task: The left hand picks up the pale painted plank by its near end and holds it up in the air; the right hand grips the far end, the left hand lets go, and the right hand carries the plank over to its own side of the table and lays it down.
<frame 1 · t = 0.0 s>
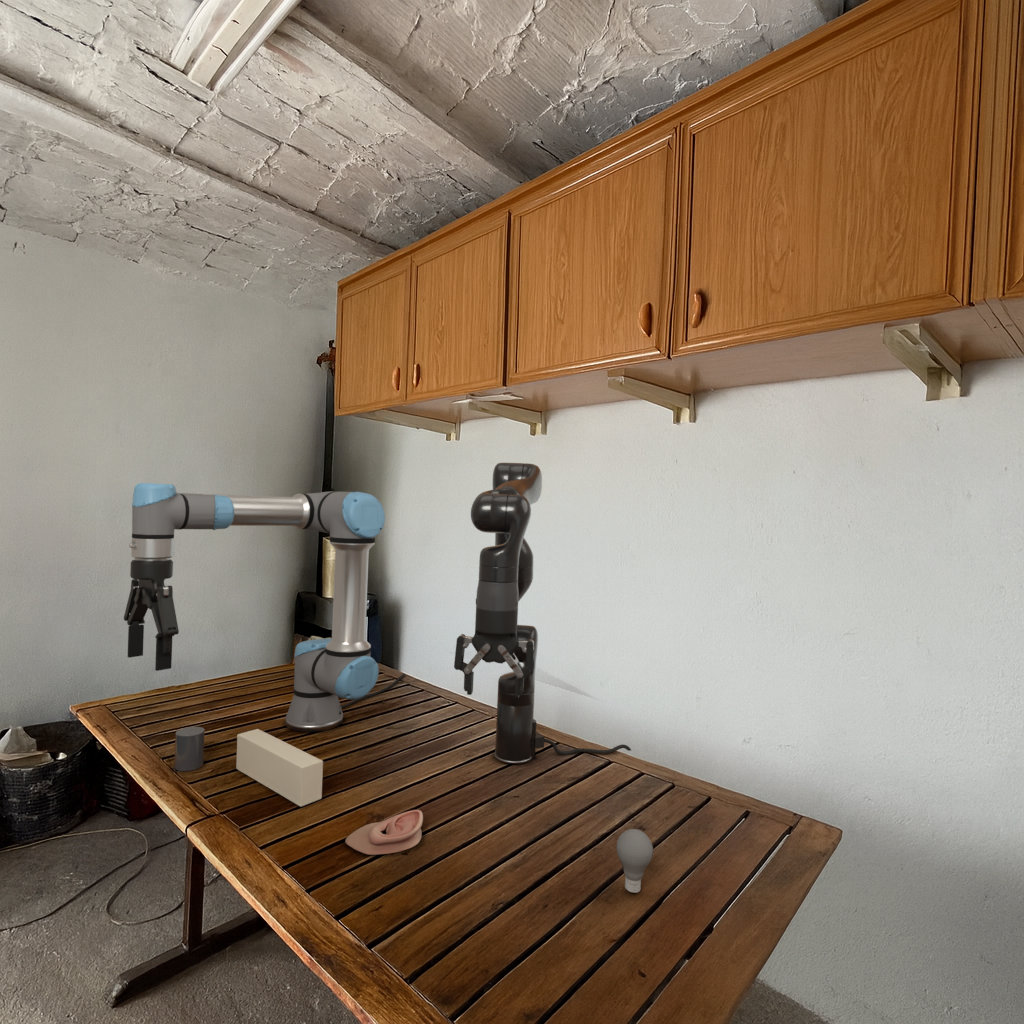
left hand: (148, 662, 129), 28 cm above the table, fingers open, 13 cm apart
right hand: (493, 695, 114), 29 cm above the table, fingers open, 8 cm apart
fossil: (325, 680, 217), on the table
dark grey cylinder: (189, 765, 146), on the table
plank: (277, 783, 139), on the table
light bulb: (632, 891, 106), on the table
anatomical model: (384, 840, 118), on the table
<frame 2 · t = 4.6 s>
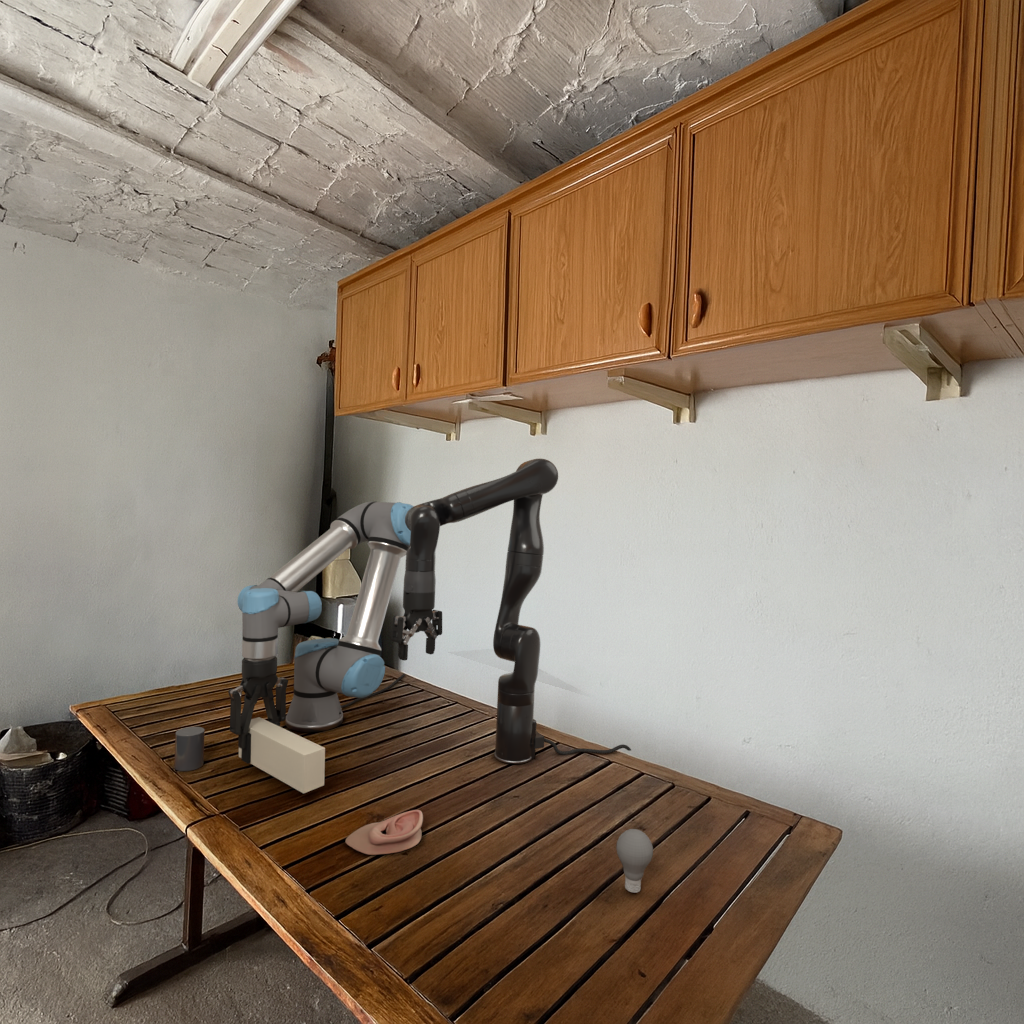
left hand: (257, 757, 145), 3 cm above the table, fingers closed on plank, 5 cm apart
right hand: (416, 656, 151), 26 cm above the table, fingers open, 8 cm apart
plank: (279, 770, 140), point 3 cm above the table, touching left hand
everything else where it was.
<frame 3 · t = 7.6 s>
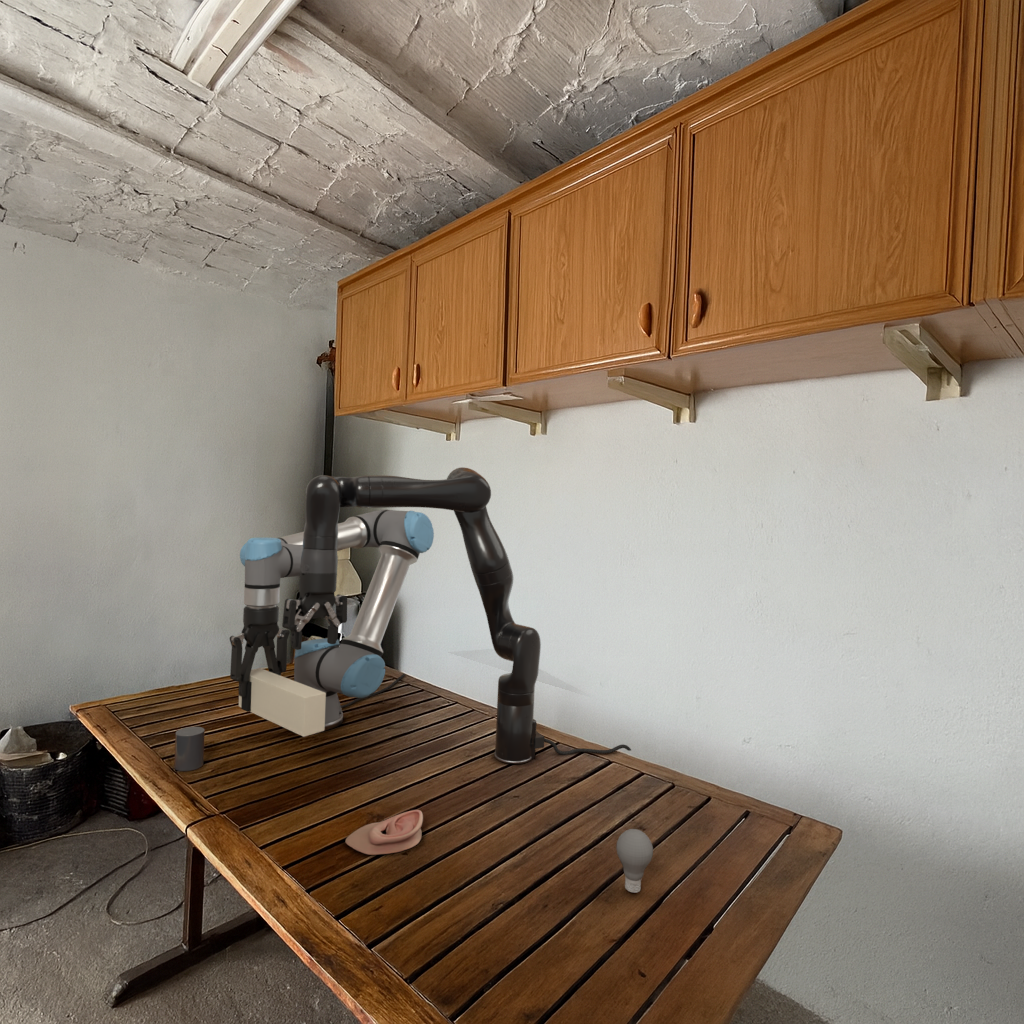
left hand: (257, 706, 145), 15 cm above the table, fingers closed on plank, 5 cm apart
right hand: (314, 646, 134), 32 cm above the table, fingers open, 8 cm apart
plank: (279, 718, 139), point 14 cm above the table, touching left hand
everything else where it was.
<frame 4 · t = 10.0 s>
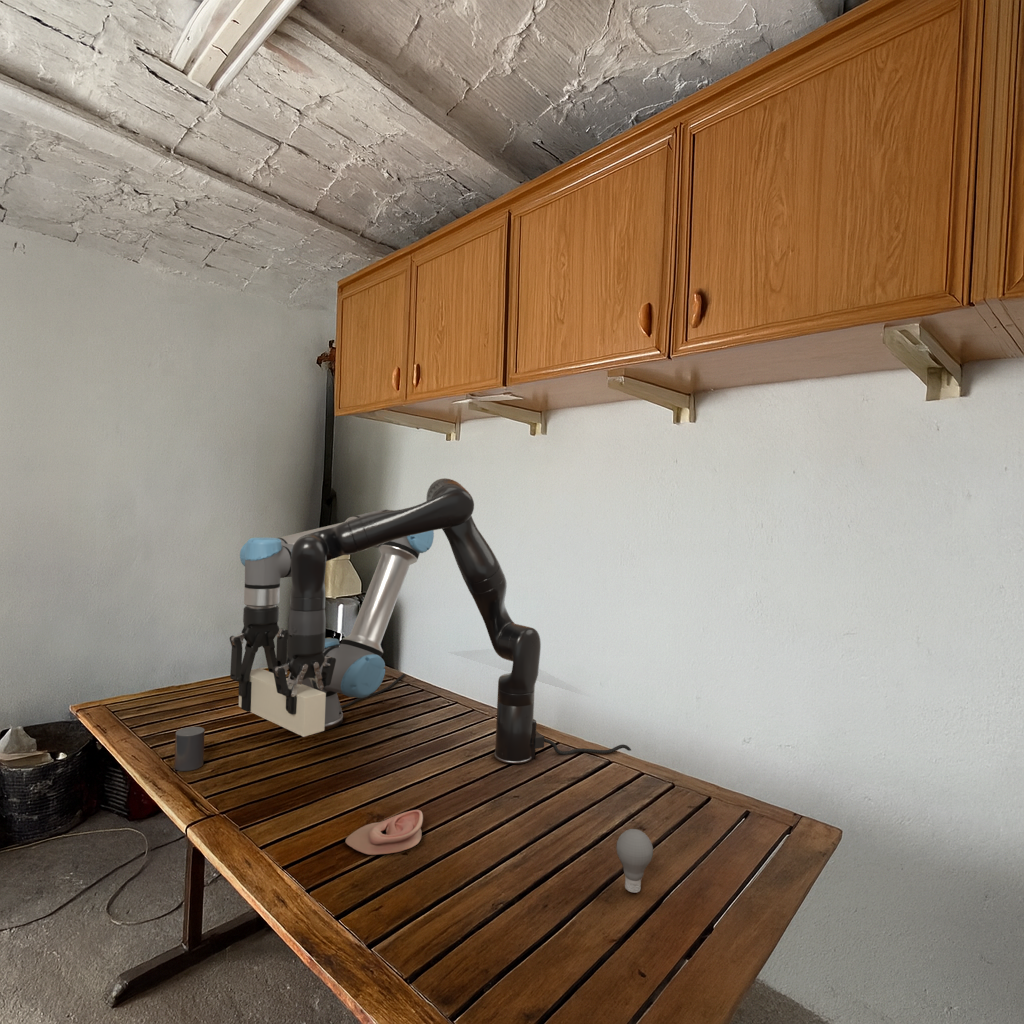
left hand: (257, 706, 145), 15 cm above the table, fingers closed on plank, 5 cm apart
right hand: (303, 709, 133), 18 cm above the table, fingers closed on plank, 5 cm apart
plank: (279, 718, 139), point 14 cm above the table, touching left hand, right hand
everything else where it was.
when the left hand's fingers open (15 cm above the table, at t = 10.8 s): plank stays where it is, held by the right hand.
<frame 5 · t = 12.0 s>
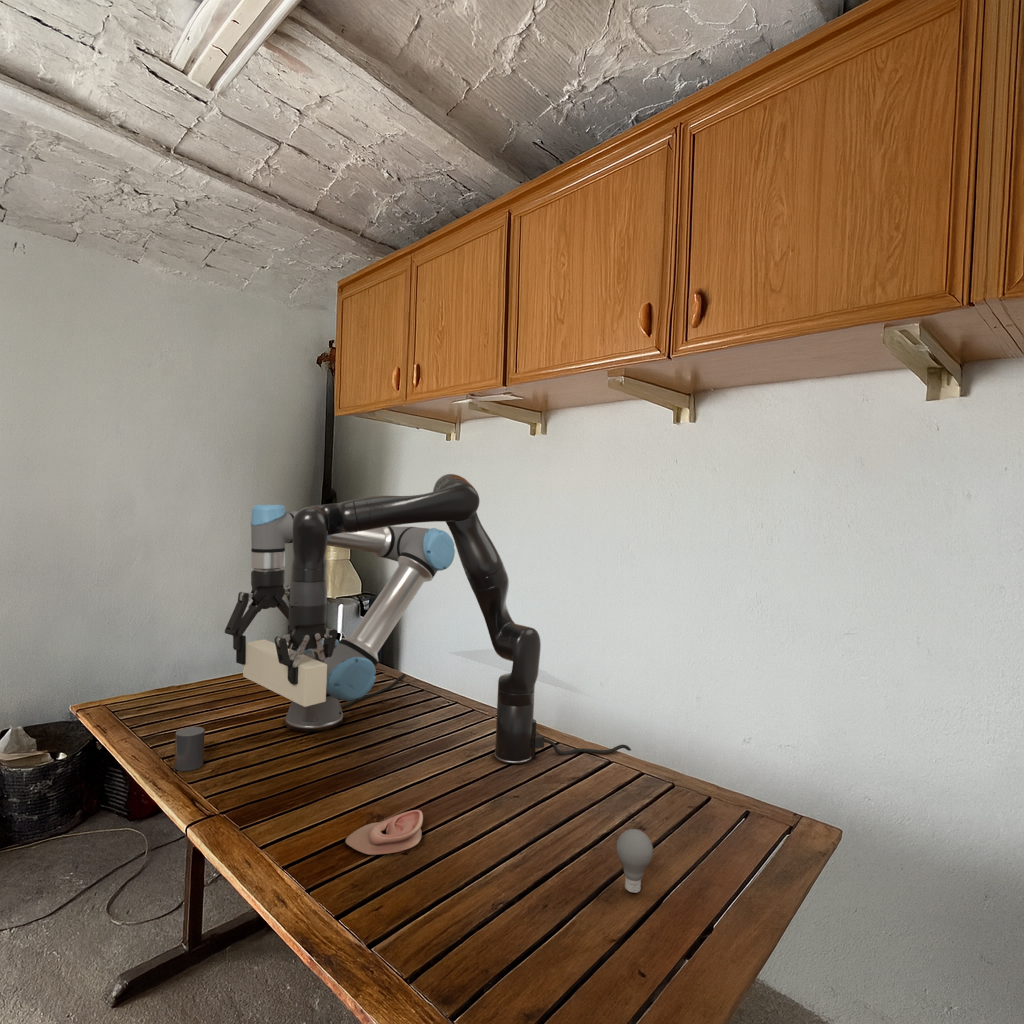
left hand: (267, 657, 152), 24 cm above the table, fingers open, 13 cm apart
right hand: (305, 680, 134), 24 cm above the table, fingers closed on plank, 5 cm apart
plank: (282, 688, 140), point 21 cm above the table, touching left hand, right hand
everything else where it was.
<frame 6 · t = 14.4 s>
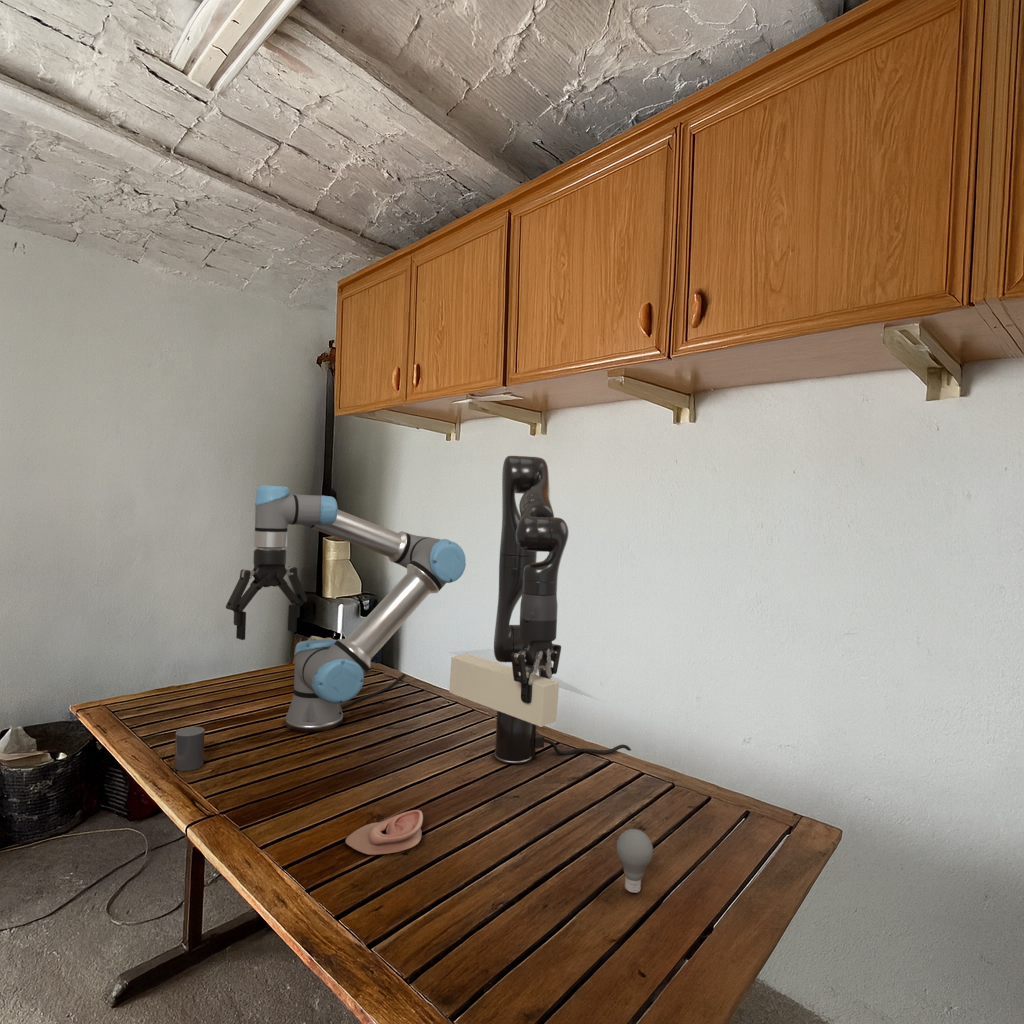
left hand: (267, 635, 155), 29 cm above the table, fingers open, 13 cm apart
right hand: (535, 698, 128), 24 cm above the table, fingers closed on plank, 5 cm apart
plank: (500, 706, 134), point 21 cm above the table, touching right hand
everything else where it was.
when the right hand's fingers open (5 cm above the table, at t = 19.2 s): plank drops 1 cm, on the table.
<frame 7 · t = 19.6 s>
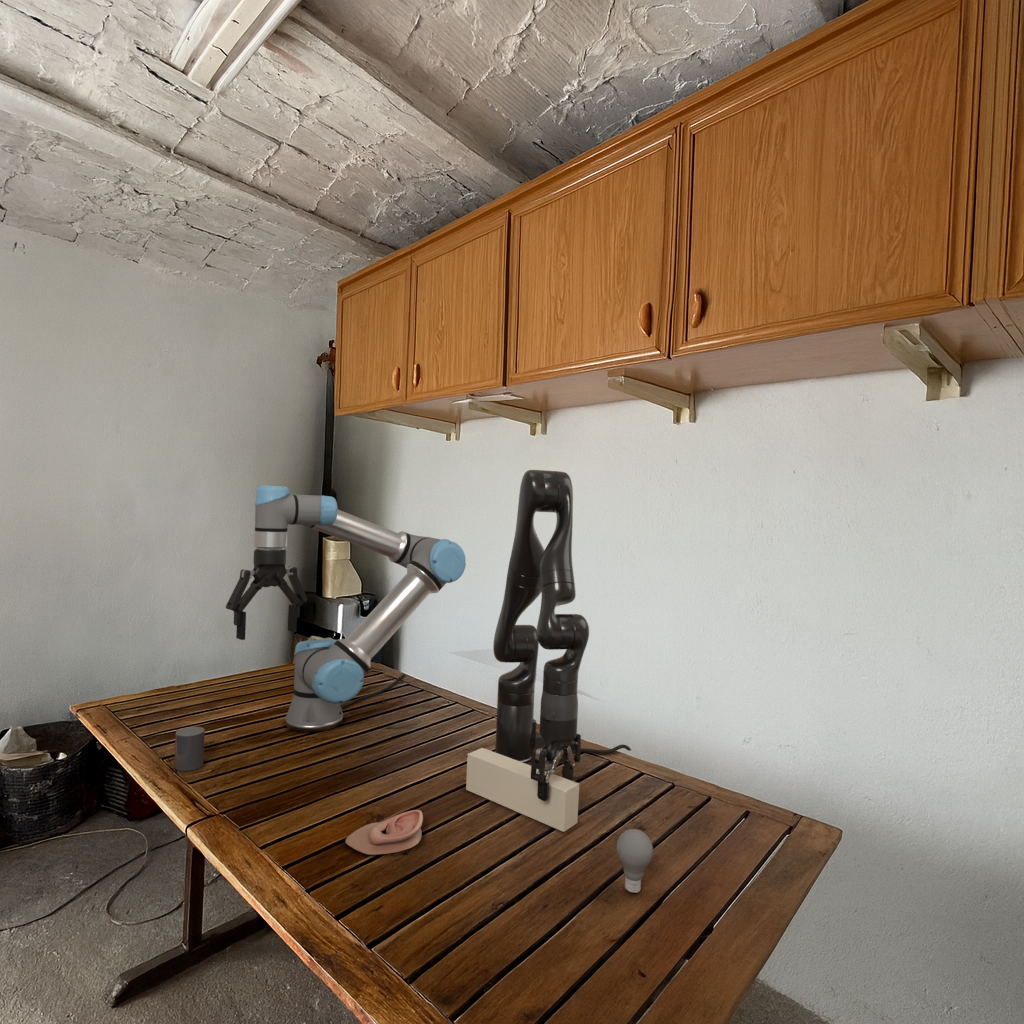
left hand: (267, 635, 155), 29 cm above the table, fingers open, 13 cm apart
right hand: (555, 792, 128), 6 cm above the table, fingers open, 8 cm apart
plank: (519, 805, 134), on the table
everything else where it was.
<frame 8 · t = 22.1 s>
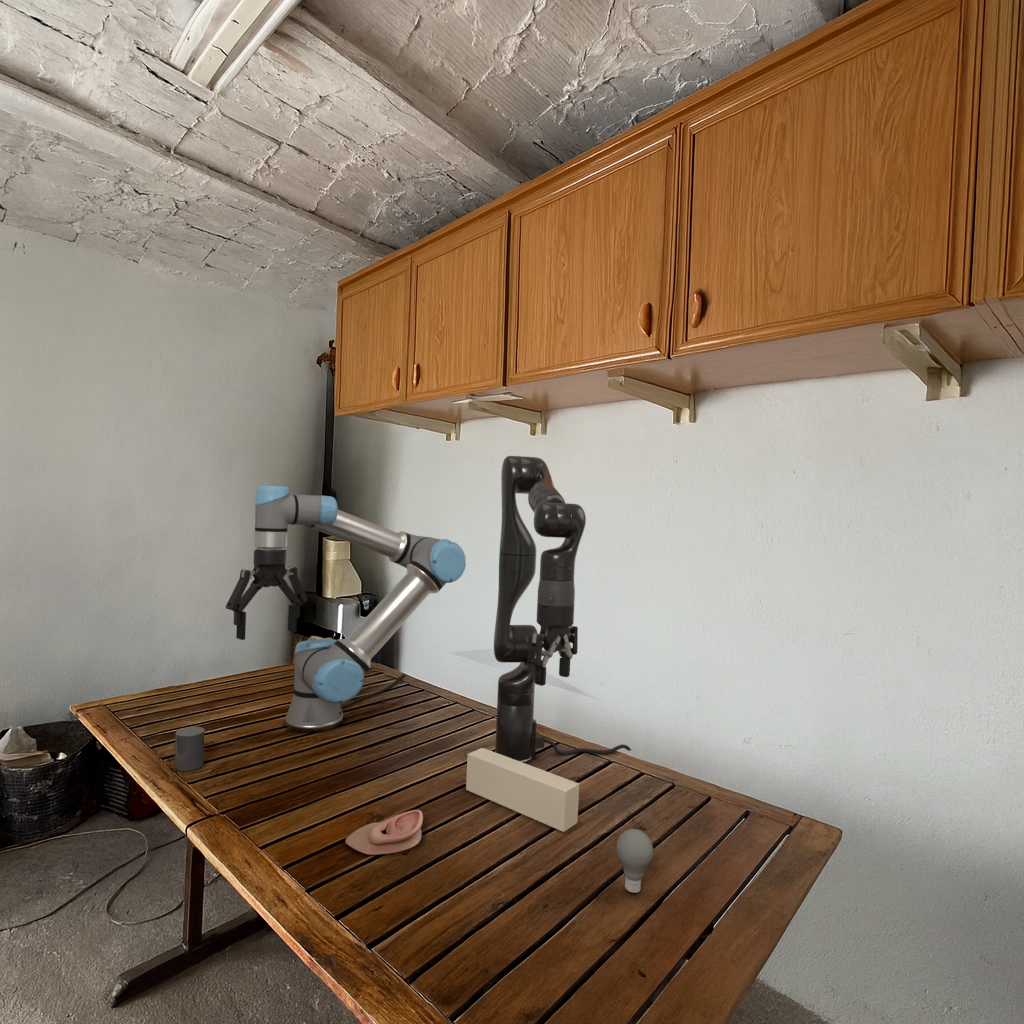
left hand: (267, 635, 155), 29 cm above the table, fingers open, 13 cm apart
right hand: (552, 680, 129), 28 cm above the table, fingers open, 8 cm apart
nothing on the table moved.
at the end: plank inside the target area (0.0 cm from its centre), on the table; both hands held the plank at the same time; the left hand is holding nothing; the right hand is holding nothing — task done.
